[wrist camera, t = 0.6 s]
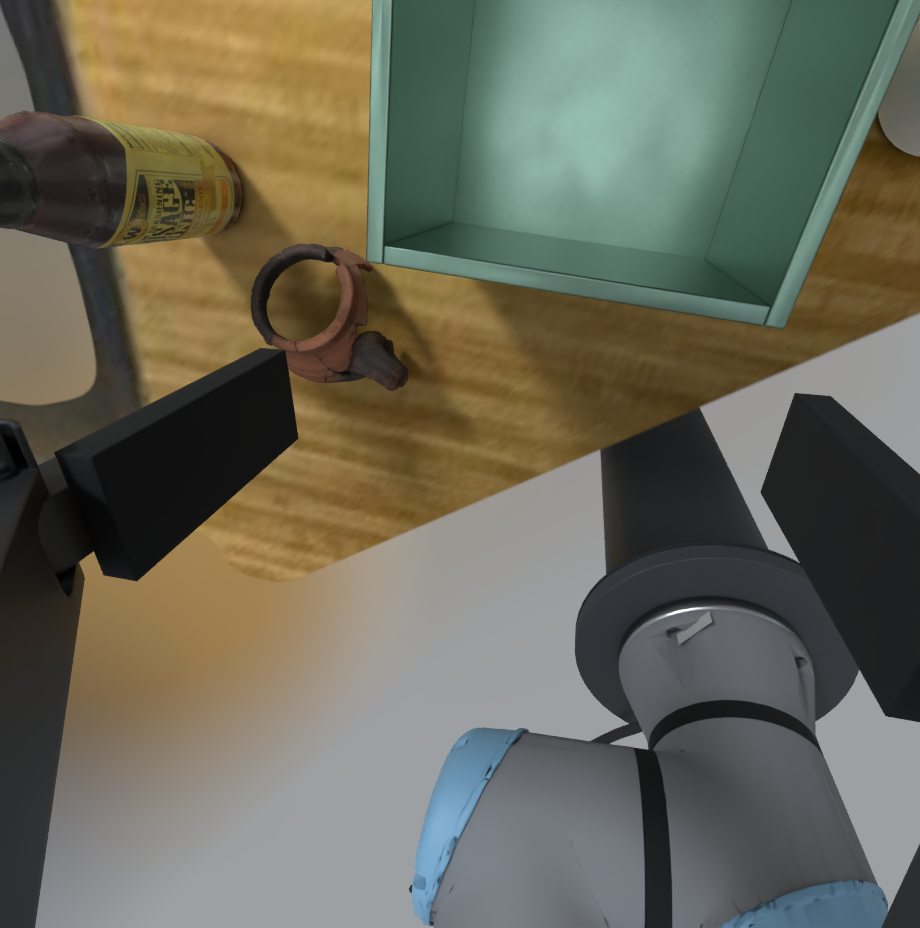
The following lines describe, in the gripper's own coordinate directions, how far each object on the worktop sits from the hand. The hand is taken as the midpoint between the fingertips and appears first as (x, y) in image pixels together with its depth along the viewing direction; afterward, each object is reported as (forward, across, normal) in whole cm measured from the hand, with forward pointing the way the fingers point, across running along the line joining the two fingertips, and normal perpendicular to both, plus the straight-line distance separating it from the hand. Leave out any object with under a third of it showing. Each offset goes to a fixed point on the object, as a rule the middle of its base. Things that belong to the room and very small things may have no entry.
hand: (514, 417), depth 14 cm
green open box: (+24, -2, -10) cm, 27 cm away
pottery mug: (+25, +15, +4) cm, 29 cm away
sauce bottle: (+25, +25, -5) cm, 35 cm away
